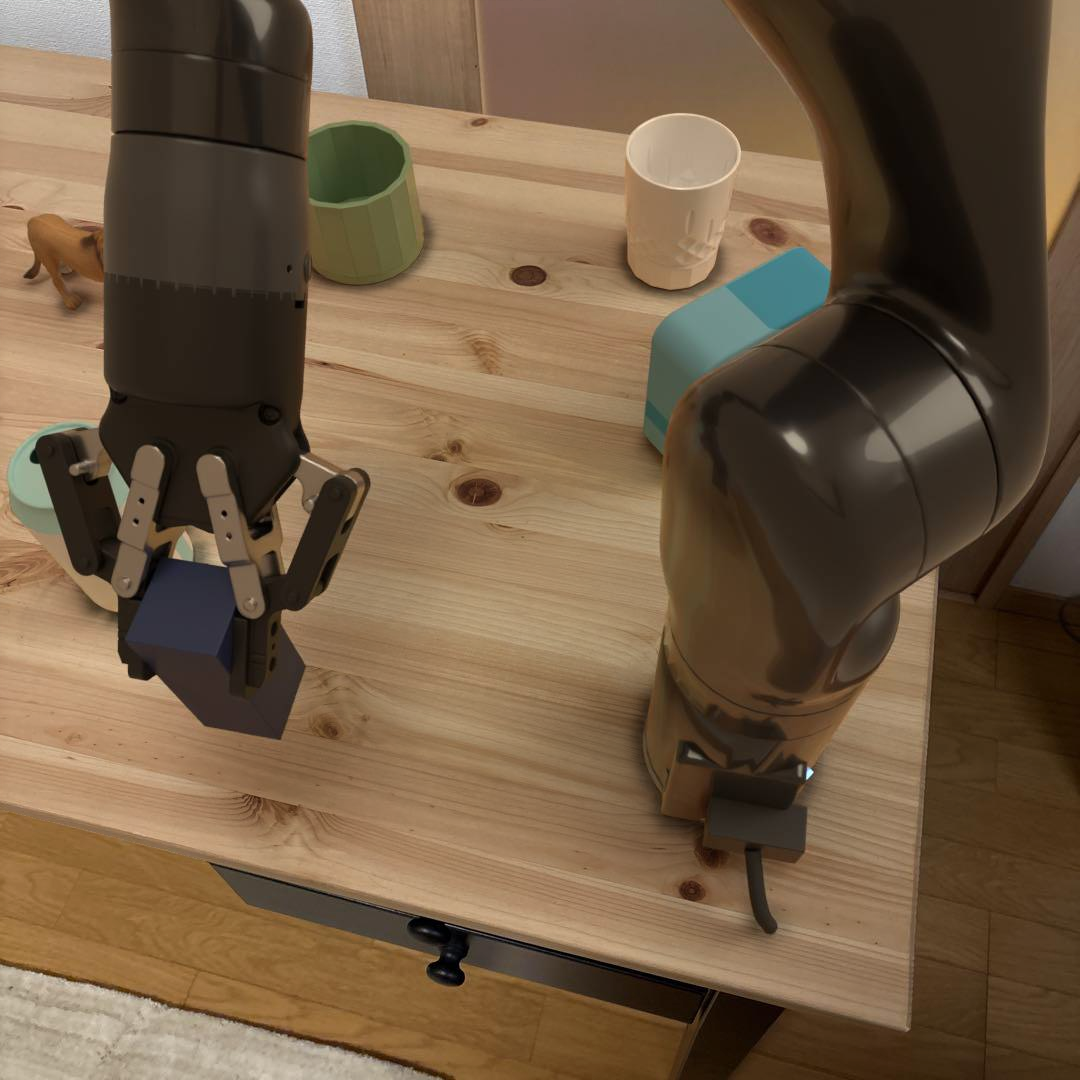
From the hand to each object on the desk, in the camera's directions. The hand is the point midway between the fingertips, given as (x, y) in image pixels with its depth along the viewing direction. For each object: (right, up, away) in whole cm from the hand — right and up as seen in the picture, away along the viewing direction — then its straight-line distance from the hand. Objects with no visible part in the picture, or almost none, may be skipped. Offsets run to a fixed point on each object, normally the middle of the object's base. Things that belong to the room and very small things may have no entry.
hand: (198, 680), depth 43 cm
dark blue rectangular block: (+1, -2, +7) cm, 7 cm away
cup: (+1, +30, +36) cm, 47 cm away
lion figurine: (-17, +25, +34) cm, 46 cm away
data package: (+28, +14, +26) cm, 41 cm away
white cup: (+25, +28, +34) cm, 50 cm away
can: (-11, +4, +22) cm, 25 cm away
